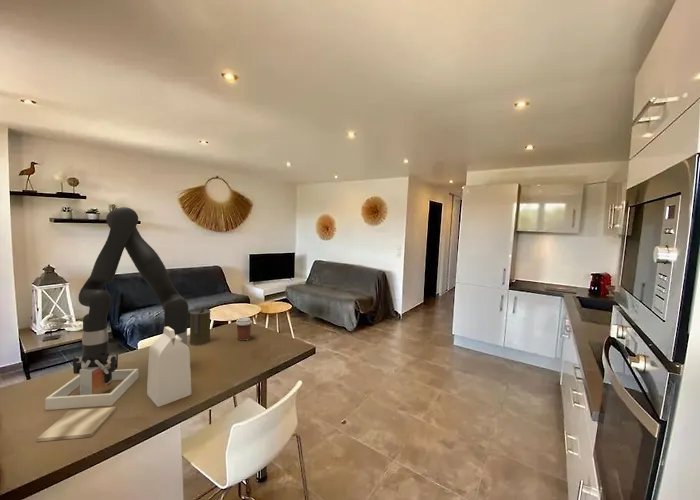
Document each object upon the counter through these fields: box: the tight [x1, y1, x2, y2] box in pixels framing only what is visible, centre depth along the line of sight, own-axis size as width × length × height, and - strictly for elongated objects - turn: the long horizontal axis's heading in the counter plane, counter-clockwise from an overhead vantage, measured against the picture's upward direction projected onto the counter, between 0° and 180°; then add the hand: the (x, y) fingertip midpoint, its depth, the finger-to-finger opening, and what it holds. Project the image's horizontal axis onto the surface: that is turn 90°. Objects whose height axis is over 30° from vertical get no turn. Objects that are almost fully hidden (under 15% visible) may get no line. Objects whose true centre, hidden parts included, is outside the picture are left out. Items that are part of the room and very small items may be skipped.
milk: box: [146, 326, 192, 408], centre depth 116 cm, size 12×12×26 cm
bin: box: [44, 368, 139, 411], centre depth 116 cm, size 20×20×4 cm
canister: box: [189, 305, 211, 346], centre depth 168 cm, size 11×10×20 cm
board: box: [36, 406, 118, 443], centre depth 98 cm, size 14×14×1 cm
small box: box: [79, 361, 113, 395], centre depth 116 cm, size 8×6×10 cm
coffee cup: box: [235, 316, 253, 341], centre depth 175 cm, size 9×9×12 cm
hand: (96, 382), depth 116 cm, fingers closed on small box, 7 cm apart
